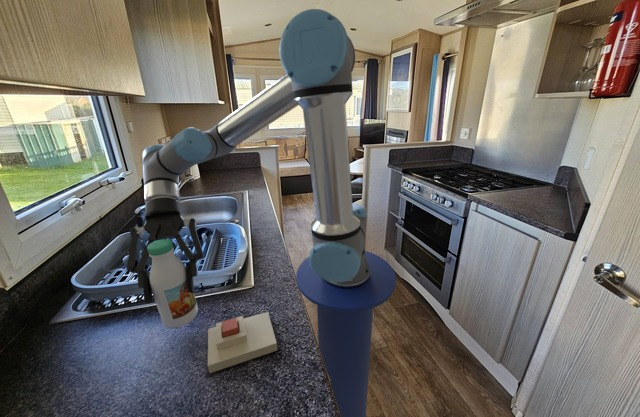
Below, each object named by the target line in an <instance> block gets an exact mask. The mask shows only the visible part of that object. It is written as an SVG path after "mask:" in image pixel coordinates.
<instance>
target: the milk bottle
mask: <svg viewBox="0 0 640 417" xmlns="http://www.w3.org/2000/svg"><path fill="white" fill-rule="evenodd" d="M147 250H148V253H149V254H150V255H149V256H150V257H151V258H152V260H151V267H150V271H149V272H150V277H149V279H150V286H151V289H152V297H153V298H154V302H155V304H156V308H157V312H158V313H159V317H160V320H161V322H162V325H163V326H165V327H166V328H169V329H177V328H181V327H184V326H186V325H188V324H189V323H191V322H192V321H193V320H194V319H195V318H196V317H197V315H198V312H199V307H198V303H197V299H196V298H197V297H196V295H195V291H194V292H193V293H190V292H188V283H187V273H186V264H185V263H183V261H181V260H180V259H179V258H178V257H177V255H176V253H175V252H174V251H175V249H174V244H173V241H172V239H161V240H157V241H154V242H152V243H151V244H149V245H148V247H147Z"/></svg>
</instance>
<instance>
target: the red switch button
mask: <svg viewBox="0 0 640 417" xmlns="http://www.w3.org/2000/svg"><path fill="white" fill-rule="evenodd" d="M221 322H222V334H223V338H225V337H228V336H231V335H235V334H238V333H239V332H238V323H237V317H233V318H230V319H226V320H222V321H221Z"/></svg>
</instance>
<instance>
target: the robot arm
mask: <svg viewBox="0 0 640 417" xmlns="http://www.w3.org/2000/svg"><path fill="white" fill-rule="evenodd" d="M278 51H279V60H280V64H281V66H282V68H283V70H284V72H285V74H284V75H282V76H281V77H279V78H278V79H276V80H275V81H274V82H272V83H271V84H270V85H268V86H267V87H266V88H264V89H263V90H262V91H261V92H259V93H258V94H256V95H255V96H253V97H252V98H251V99H249V100H248V101H247V102H245V103H244V104H243V105H241V106H240V107H239V108H237V109H236V110H234V111H233V112H232V113H230V114H229V115H228V116H226V117H225V118H223V119H222V120H221V121H220V122H218V124H216V125H214V126H213V127H212V128H210V129H208V130H204V131H202V130H201V129H199V128H195V127H194V126H193V127H192V126H191V127H189V126H188V127H186V128H184V129H183V130H181V131H179V132H177V133H176V134H175V135H174V137H173V138H171V139H170V140H169V141H167V143H166V144H153V145H152V146H151V145H149V146H147V147H146V148H144V150H143V152H142V160H141V161H142V162H141V166H142V175H143V176H142V177H143V191H144V192H143V193H144V195H143V196H144V213H145V214H144V216H145V217H144V218H145V222H144V224H143V226H140V227H138V228H135V227H131V228H130V229H129V233H130V237H131V239H130V246H129V251H128V258H127V264H126V270H127V271H128V272H130V273H131V274H137V286H138V288H139V289H143V290H142V291H143V303H145V304H152V303H153V293H152V289H151V286H150V279H149V277H150V271H148V270H149V267H150V265H151V263H152V258H151V257H150V256H149V255H150V254H149V253H148V250H147V247H148V245H149V244H151V243H152V242H154V241H157V240H161V239H169V240H174V239H175V240H176V242H177V244H178V246H179V247H180V248H181V250H182V252H183V253H184V254H185V256H186V258H187V260H188V261H186V262H185V263H184V265H185V267H186V273H187V283H188V292H190V293H193V292H194V293H195V284H194V277H197V276H198V266H197V263H198V261H200V260H203V259H204V258H205V255H204V251H203V247H202V245H201V242H200V239H199V238H200V237H199V234H198V232H197V228H198V227H197V226H198V223H197V220H196V219H195V218H193V217H192V218H190V219H184V218H183V216H182V214H183V213H182V206H181V205H182V204H181V202H180V201H181V196H180V187H179V176H181V175H183V174H184V173H186V171H188V170H190V169H191V168H192V167H194V166H195V165H199V164H201V163H205V162H207V161H210V160H213V159H217V158H219V157H223V156H226V155H229V154H230V153H232V152H233V151H234V150H235V149H236V147H237V146H239V145H241V144H242V143H243V142H245V141H246V140H248V139H249V138H252V136H254V135H255V134H257V133H258V132H261V130H263V129H265V128H266V127H268V126H269V125H271V124H272V123H274V122H275V121H277V120H278V119H281V117H284V115H286V114H287V113H289V112H290V111H292V110H293V109H295V108H296V107H300V108H301V110H302V114H303V122H304V123H303V124H304V130H305V139H306V147H307V154H308V162H309V172H310V178H311V186H312V194H313V203H314V211H315V218H314V219H313V220H312V221H311V223H310V230H311V231H310V232H311V238H312V248H311V249H310V251H309V256H310V257H309V256H308V257H309V262H310V266H311V268H312V269H313V271H314V272H315V273H316V274H317V275H319V276H321V277H322V278H323V280H324V281H325V282H326V283H328V284H329V285H331V286H334V287H337V288H342V289H351V288H357V287H360V286H362V285H364V284H365V283H366V282H367V281H368V280H369V277H370V267H369V264H368V261H367V258H366V255H365V251H366V240H367V239H366V237H367V236H366V235H367V218H368V210H367V208H366V207H365V206H364V205H362V204H359V203H354V202H353V193H352V180H351V179H352V178H351V165H350V164H351V162H350V148H349V134H348V120H347V102H348V101H349V100H350V99H351V97H352V95H353V77H352V76H353V75H352V73H353V71H354V68H355V64H356V50H355V46H354V44H353V42H352V39H351V38H350V37H349V35H348V33H347V30H346V28H345V26H344V24H343V23H342V22H341V21H340V19H339V18H337V17H336V16H335V15H334V14H333V15H332V14H331V13H330V12H328V11H326V10H323V9H320V8H311V9H310V8H309V9H306V10H302V11H301V12H299V13H297V14H296V15H295V16H293V17H292V18H291V19H290V20H289V21H288V23H287V25H286V27H285V28H284V29H283V31H282V34H281V36H280V42H279V50H278ZM184 226H185V227H186V229H187V230H189V234H190V237H191V241H192V243H193V247H194V250H195V253H194V254H193V252H192V251H191V250H190V248H189V246H188V245H187V243H186V242H185V240H184V238H183V237H182V235H181V234H180V233H181V231H182V229H183V228H184ZM145 233H148V235H149V236H148V238H147V243H146V246H145V247H144V250H143V253H142V254H141V249H142V241H143V240H142V238H143V237H144V234H145ZM140 256H141V258H140Z"/></svg>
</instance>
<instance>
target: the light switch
mask: <svg viewBox="0 0 640 417" xmlns="http://www.w3.org/2000/svg"><path fill="white" fill-rule="evenodd" d="M236 318H237V323H238V332H239V333H238V334H235V335H231V336H228V337H225V338H223V334H222V321H220V322H216V323H215V326H212V327H209V328H208V329H207V369H208V373H209V374H212V373H215V372H218V371H221V370H223V369H226V368H230V367H233V366H236V365H239V364H242V363H245V362H247V361H251V360H253V359H257V358H259V357H262V356H265V355H269V354H270V353H273V352H276V351H278V343H277V339H276V335H275V332H274V328H273V324H272V320H271V318H270V313H269V311H265V312H262V313H259V314H258V313H257V314H255V315H251V316H248V317H245V318H244V315H241V316H237V317H236Z"/></svg>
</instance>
